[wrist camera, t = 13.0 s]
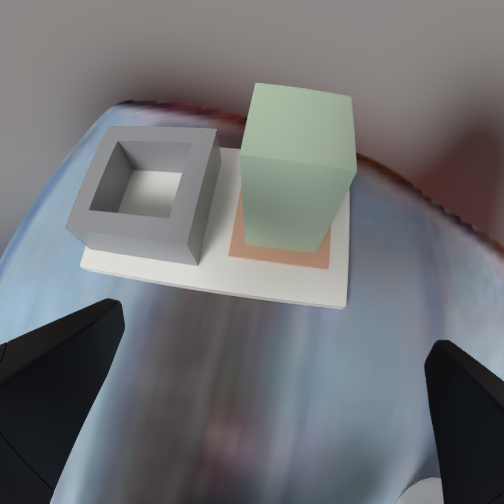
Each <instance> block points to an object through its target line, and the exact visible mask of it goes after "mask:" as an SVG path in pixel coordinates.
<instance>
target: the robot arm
mask: <svg viewBox="0 0 504 504" xmlns="http://www.w3.org/2000/svg"><path fill="white" fill-rule="evenodd" d="M124 330H125V322H124V316H123V309H122V304H121V302H120V301H118V300H114V299H110V298H106V299H104V300H102V301H99V302H97V303H95V304H92V305H90V306H88V307H85V308H83V309H81V310H78V311H76V312H74V313H72V314H69V315H67V316H65V317H62V318H60V319H58V320H56V321H53V322H51V323H49V324H46V325H44V326H42V327H40V328H37V329H35V330H33V331H31V332H28V333H26V334H24V335H22V336H19V337H17V338H15V339H13V340H10V341H9V342H8V343H7V342H6V343H4V344H1V345H0V504H50V501H51V498H52V496H53V493H54V491H53V490H55V488H56V485H57V483H58V481H59V478H60V476H61V473H62V471H63V469H64V466H65V464H66V462H67V459H68V457H69V455H70V452H71V450H72V448H73V446H74V443H75V441H76V439H77V437H78V435H79V432H80V430H81V428H82V426H83V424H84V422H85V420H86V417H87V415H88V413H89V411H90V409H91V407H92V405H93V403H94V401H95V399H96V397H97V395H98V393H99V391H100V389H101V387H102V385H103V383H104V381H105V379H106V377H107V374H108V372H109V369H110V367H111V364H112V362H113V359H114V356H115V354H116V351H117V348H118V346H119V343H120V341H121V338H122V336H123V333H124ZM424 370H425V377H426V384H427V392H428V401H429V409H430V415H431V420H432V425H433V431H434V436H435V442H436V448H437V454H438V460H439V467H440V475H441V483H442V492H443V502H444V504H504V381H503V380H501V379H500V378H499V377H498V376H496V375H495V374H494V373H492V372H491V371H490V370H488V369H487V368H486V367H484V366H483V365H482V364H481V363H479V362H478V361H477V360H475V359H474V358H473V357H471V356H470V355H469V354H467V353H466V352H465V351H463V350H462V349H461V348H459V347H458V346H456V345H455V344H454V343H452V342H451V341H450V340H437V341H436V342H435V343H434V345H433V347H432V349H431V351H430V353H429V355H428V357H427V359H426V361H425V365H424Z"/></svg>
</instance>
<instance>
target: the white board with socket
mask: <svg viewBox="0 0 504 504" xmlns="http://www.w3.org/2000/svg"><path fill="white" fill-rule="evenodd" d="M240 150H241V149H233V148H222V147H220V146H219V139H218V131H217V129H211V128H193V127H164V126H119V127H108V129H107V131H106V133H105V135H104V137H103V139H102V141H101V143H100V145H99V147H98V149H97V151H96V154H95V156H94V158H93V160H92V162H91V164H90V167H89V169H88V171H87V173H86V176H85V178H84V180H83V183H82V185H81V187H80V190H79V192H78V195H77V197H76V200H75V202H74V205H73V208H72V210H71V213H70V216H69V218H68V221H67V224H66V227H65V229H67V230H68V231H69V232H70V233H71V234H72V235H74V236H75V237H76V238H77V239H78V240H79V241H81V242H82V243H83V244H84V245H85V246H86V247H85V250H84V254H83V257H82V260H81V264H80V267H82V268H83V269H84V270H87V271H92V272H97V273H102V274H107V275H112V276H118V277H123V278H128V279H134V280H139V281H145V282H150V283H156V284H162V285H168V286H174V287H180V288H186V289H192V290H198V291H205V292H211V293H218V294H224V295H231V296H238V297H245V298H252V299H259V300H267V301H274V302H282V303H290V304H298V305H306V306H314V307H323V308H332V309H341V310H342V309H344V308H345V307H346V299H347V282H348V261H349V216H350V198H349V189H348V191H347V193H346V195H345V197H344V199H343V201H342V203H341V205H340V207H339V209H338V211H337V213H336V215H335V217H334V219H333V221H332V223H331V225H330V227H329V229H328V231H327V233H326V235H325V237H324V239H323V241H322V243H321V244H320V246H319V248H318V250H317V252H316V254H314V253H306V252H299V251H291V250H284V249H276V248H269V247H261V246H254V245H246V244H245V237H244V221H243V205H242V188H241V171H240Z"/></svg>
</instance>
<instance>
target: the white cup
mask: <svg viewBox="0 0 504 504" xmlns="http://www.w3.org/2000/svg"><path fill="white" fill-rule="evenodd" d="M395 504H444V502H443V492H442V483H441V478H434V477H430V478H427V479H423V480H420V481H418V482H417V483H415V484H414V485H412V486H410V487H409V488H408V489H407V490H406V491H405V492H404V493H403V494H402V495H401V496H400V497H399V498H398V500H397V502H396V503H395Z"/></svg>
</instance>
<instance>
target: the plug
mask: <svg viewBox="0 0 504 504" xmlns="http://www.w3.org/2000/svg"><path fill="white" fill-rule="evenodd" d="M240 171H241V188H242V205H243V221H244V237H245V244H246V245H254V246H261V247H269V248H276V249H284V250H291V251H299V252H306V253H314V254H316V252H317V250H318V248H319V246H320V244H321V243H322V241H323V239H324V237H325V235H326V233H327V231H328V229H329V227H330V225H331V223H332V221H333V219H334V217H335V215H336V213H337V211H338V209H339V207H340V205H341V203H342V201H343V199H344V197H345V195H346V193H347V191H348V189H349V187H350V185H351V183H352V181H353V179H354V177H355V175H356V172H357V163H356V146H355V132H354V119H353V109H352V99H351V97H350V96H345V95H340V94H334V93H329V92H322V91H316V90H311V89H304V88H296V87H288V86H281V85H271V84H261V83H256V84H255V88H254V92H253V97H252V101H251V105H250V110H249V114H248V118H247V123H246V127H245V132H244V137H243V141H242V146H241V150H240Z"/></svg>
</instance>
